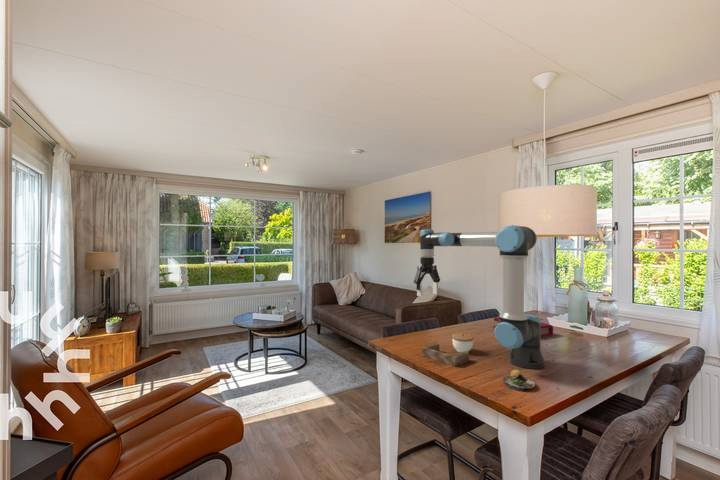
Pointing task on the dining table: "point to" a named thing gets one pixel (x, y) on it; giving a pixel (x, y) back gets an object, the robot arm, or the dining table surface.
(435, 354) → the u-shaped bracket
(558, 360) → the dining table surface
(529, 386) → the plate of food
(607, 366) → the dining table surface
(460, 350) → the lidded jar
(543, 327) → the book
